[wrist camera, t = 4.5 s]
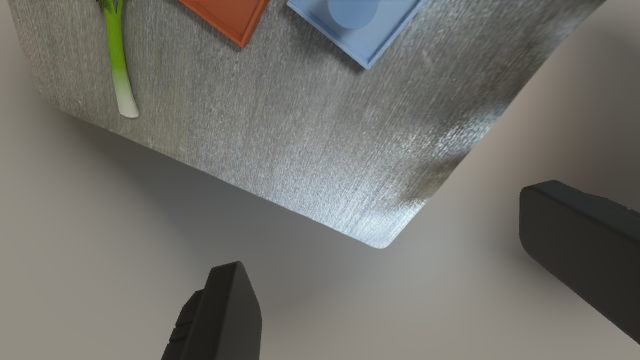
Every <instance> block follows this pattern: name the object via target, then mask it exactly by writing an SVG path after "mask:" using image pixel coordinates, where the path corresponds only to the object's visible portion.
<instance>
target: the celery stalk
mask: <svg viewBox="0 0 640 360" xmlns="http://www.w3.org/2000/svg"><path fill="white" fill-rule="evenodd" d="M97 1H99V2H100V3H102V4H100V3H99V4H100V7H101V8H102V5H103V8H104V10H103V8H102V9H101V10H102V11H104V13H105V21H106V30H107V39H108V47H109V54H110V63H111V70H112V75H113V81H114V87H115V92H116V97H117V102H118V107H119V112H120V114H122V115H124V116H126V117H130V118H134V117H138V116H139V115H140V114H139V111H138V108H137V105H136V102H135V99H134V97H133V94H132V90H131V86H130V81H129V77H128V72H127V68H126V62H125V56H124V49H123V43H122V28H121V9H122V4H123V0H118V1H117V8H116V13H115V9H114V5H113V1H112V0H96V2H97Z"/></svg>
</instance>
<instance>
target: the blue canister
mask: <svg viewBox="0 0 640 360" xmlns="http://www.w3.org/2000/svg"><path fill="white" fill-rule="evenodd" d="M380 2H381V0H328V9H329V12H330V14H331V16H332V18H333V19H334V21H335V22H336V23H337V24H339V25H340V26H342V27H344V28H346V29H359V28H361V27H363V26H365V25H367V24H368V23H369V22H370V21H371V20H372V19H373V17H374V15H375V13H376V11H377V9H378V7H379V4H380Z"/></svg>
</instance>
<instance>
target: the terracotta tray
mask: <svg viewBox="0 0 640 360" xmlns="http://www.w3.org/2000/svg"><path fill="white" fill-rule="evenodd" d="M179 1H180V2H181V3H183V4H184V5H185V6H187V7H188V8H189V9H191V10H192V11H193V12H195V13H196V14H197V15H199V16H200V17H201V18H203V19H204V20H205V21H207V22H208V23H209V24H211V25H212V26H213V27H215V28H216V29H217V30H219V31H220V32H221V33H223V34H224V35H225V36H227V37H228V38H229V39H231V40H232V41H233V42H235V43H236V44H237V45H239V46H240V47H241V48H243V47H244V46H245V45H246V44H248V43H249V41H250V39H251V37H252V35H253V33H254V31H255V29H256V26H257V24H258V22H259V20H260V18H261V16H262V14H263V12H264V10H265V8H266V6H267V4H268V2H269V0H179Z"/></svg>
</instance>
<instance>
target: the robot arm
mask: <svg viewBox="0 0 640 360" xmlns="http://www.w3.org/2000/svg"><path fill="white" fill-rule="evenodd" d="M519 222H520V223H519V235H520V240H521V243H522V246H523V248H524V249H525V251H526V252H527V253H528V255H530V256H531V257H532V258H533V259H534V260H536V261H537V262H538V263H539V264H540V265H542V266H543V267H544V268H545V269H547V270H548V271H549V272H550V273H551V274H553V275H554V276H555V277H557V278H558V279H559V280H560V281H562V282H563V283H564V284H565V285H566V286H568V287H569V288H570V289H571V290H573V291H574V292H575V293H577V295H579V296H580V297H581V298H583V299H584V300H585V301H586V302H587V303H589V304H590V305H591V306H592V307H594V308H595V309H596V310H597V311H599V312H600V313H601V314H603V315H604V316H605V317H606V318H607V319H608V320H610V321H611V322H612V323H614V324H615V325H616V326H617V327H618V328H620V329H621V330H622V331H623V332H625V333H626V334H627V335H628V336H630V337H631V338H632V339H633V340H635V341H636V342H637V343H638V344H639V345H640V213H639V212H637V211H634V210H628V209H627V207H625V206H623V205H621V204H618V203H616V202H614V201H611V200H609V199H607V198H604V197H599V196H595V195H591V194H587V193H583V192H581V191H579V190H576V189H575V188H572V187H570V186H568V185H566V184H563V183H561V182H559V181H556V180H550V181H547V182H542V183H538V184H534V185H531V186H527V187H524V188H523V189H522V190H521V192H520V215H519ZM175 325H176V328H174V329H173V332H172V334H171V337H170V339H169V341H170V343H169V344H167V346H166V349H165V351H164V354H163V356H162V359H161V360H259V354H260V342H261V330H262V318H261V311H260V307H259V303H258V301H257V298H256V295H255V293H254V291H253V288H252V286H251V283H250V281H249V278H248V275H247V273H246V270H245V268H244V266H243V264H242V262H240V261H237V262H232V263H229V264H225V265H221V266H217V267H213V268H212V269H211V271H210V273H209V276H208V279H207V282H206V285H205V288H204V289H202V290H199V291H196V292H195V293H194V294H193V295H192V296H191V298H190V299H189V300H188V301H187V303H186V304H185V305H184V306H183V308H182V310H181V312H180V315H179V317H178V319H177V322H176V324H175Z"/></svg>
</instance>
